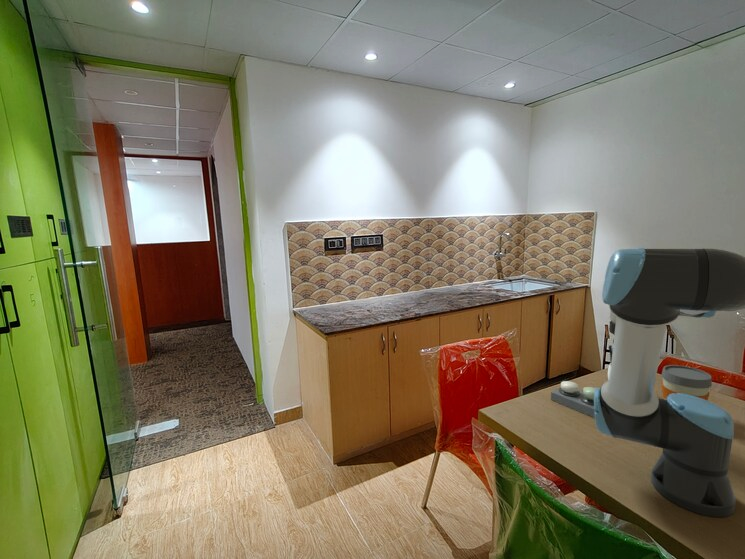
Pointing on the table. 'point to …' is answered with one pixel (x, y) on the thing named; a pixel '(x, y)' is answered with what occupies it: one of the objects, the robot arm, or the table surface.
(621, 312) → the robot arm
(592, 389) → the sage button
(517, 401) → the table surface
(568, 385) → the cream button
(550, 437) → the table surface
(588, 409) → the button panel
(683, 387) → the reusable coffee cup
